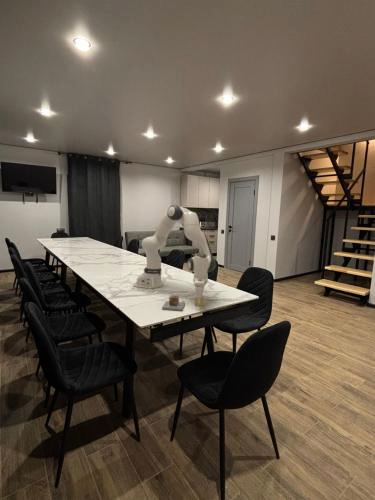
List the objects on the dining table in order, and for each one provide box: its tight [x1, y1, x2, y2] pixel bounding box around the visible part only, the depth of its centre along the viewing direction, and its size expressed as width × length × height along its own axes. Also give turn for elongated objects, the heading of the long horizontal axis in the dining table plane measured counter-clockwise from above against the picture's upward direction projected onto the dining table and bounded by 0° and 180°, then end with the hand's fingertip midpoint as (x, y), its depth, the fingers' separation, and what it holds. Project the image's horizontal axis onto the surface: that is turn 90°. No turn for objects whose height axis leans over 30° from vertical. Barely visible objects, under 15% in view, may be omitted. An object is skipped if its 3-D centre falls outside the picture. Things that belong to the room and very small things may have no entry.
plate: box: [161, 300, 186, 312], centre depth 162 cm, size 12×12×1 cm
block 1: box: [168, 294, 180, 306], centre depth 162 cm, size 5×5×5 cm
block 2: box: [194, 295, 205, 307], centre depth 168 cm, size 5×5×5 cm
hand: (199, 301), depth 168 cm, fingers open, 8 cm apart
